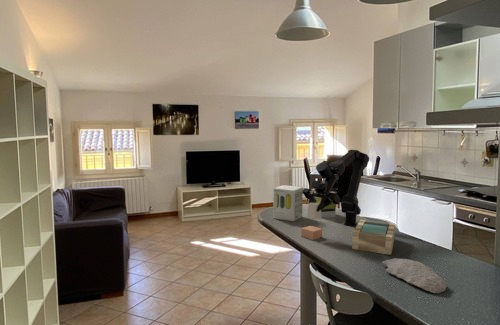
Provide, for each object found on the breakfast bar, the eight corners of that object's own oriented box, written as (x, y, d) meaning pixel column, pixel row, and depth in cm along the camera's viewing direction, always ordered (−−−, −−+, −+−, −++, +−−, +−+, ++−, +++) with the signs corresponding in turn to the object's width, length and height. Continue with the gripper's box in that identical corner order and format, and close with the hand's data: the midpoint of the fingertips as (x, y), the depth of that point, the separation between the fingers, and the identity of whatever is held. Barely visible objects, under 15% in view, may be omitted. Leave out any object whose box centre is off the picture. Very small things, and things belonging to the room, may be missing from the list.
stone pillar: (312, 216, 170) (314, 202, 170) (320, 218, 167) (321, 203, 167) (307, 217, 167) (308, 203, 167) (315, 219, 164) (316, 204, 164)
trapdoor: (365, 225, 169) (366, 219, 169) (388, 228, 165) (388, 222, 165) (360, 235, 153) (360, 229, 153) (385, 239, 149) (385, 232, 149)
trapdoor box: (359, 234, 174) (360, 219, 173) (394, 239, 167) (395, 223, 166) (352, 248, 153) (353, 232, 152) (391, 254, 146) (392, 237, 145)
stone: (373, 267, 134) (423, 298, 111) (373, 254, 134) (423, 281, 110) (407, 262, 139) (462, 290, 115) (407, 248, 138) (463, 274, 115)
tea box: (308, 212, 218) (309, 188, 216) (323, 211, 221) (324, 187, 219) (320, 218, 203) (321, 192, 202) (335, 217, 206) (336, 192, 205)
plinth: (310, 233, 174) (310, 225, 173) (322, 237, 169) (322, 228, 168) (301, 236, 169) (301, 228, 169) (312, 240, 164) (313, 231, 164)
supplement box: (272, 218, 202) (272, 188, 200) (281, 213, 213) (282, 184, 211) (294, 221, 195) (295, 190, 194) (302, 216, 207) (303, 186, 205)
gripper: (304, 171, 174) (289, 197, 168) (337, 176, 161) (322, 203, 155) (313, 185, 181) (299, 210, 174) (346, 190, 167) (332, 217, 161)
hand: (312, 210), depth 166 cm, fingers closed on stone pillar, 4 cm apart
